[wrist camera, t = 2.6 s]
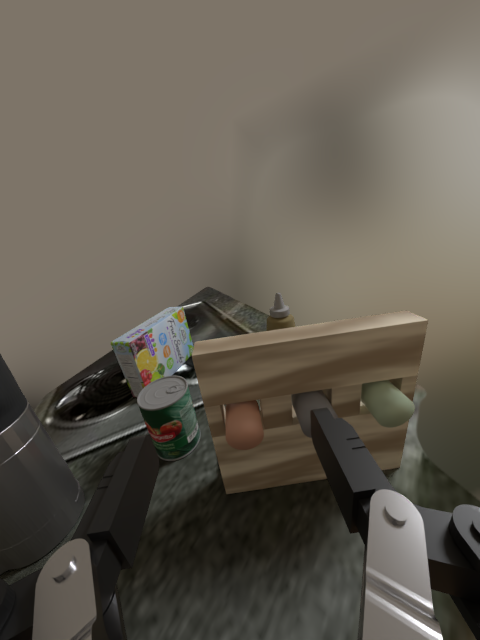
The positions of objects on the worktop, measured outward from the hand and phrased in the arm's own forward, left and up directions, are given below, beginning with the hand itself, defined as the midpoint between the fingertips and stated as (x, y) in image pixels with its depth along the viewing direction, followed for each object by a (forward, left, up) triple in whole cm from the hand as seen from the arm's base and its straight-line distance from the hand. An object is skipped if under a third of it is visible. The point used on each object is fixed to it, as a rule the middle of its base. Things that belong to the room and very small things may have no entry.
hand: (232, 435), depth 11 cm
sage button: (+20, 0, -13) cm, 24 cm away
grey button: (+13, +5, -13) cm, 19 cm away
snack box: (+9, +48, -24) cm, 55 cm away
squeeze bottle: (+33, +28, -24) cm, 50 cm away
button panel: (+16, +9, -24) cm, 30 cm away
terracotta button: (+7, +9, -13) cm, 17 cm away
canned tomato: (+2, +25, -24) cm, 35 cm away
